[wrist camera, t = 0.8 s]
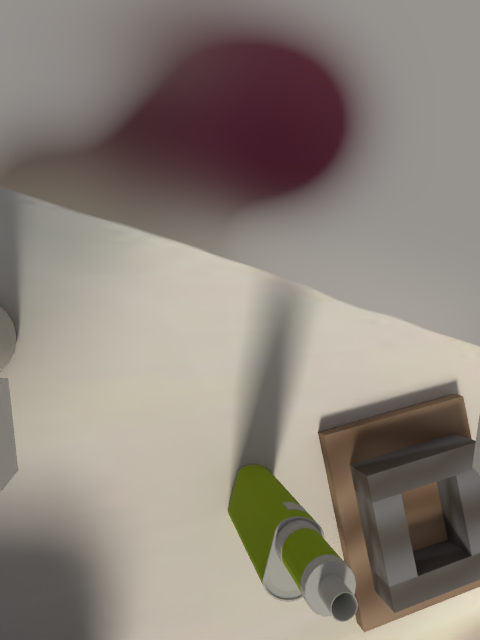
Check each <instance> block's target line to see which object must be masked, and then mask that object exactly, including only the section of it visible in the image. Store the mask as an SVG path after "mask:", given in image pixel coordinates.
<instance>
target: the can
mask: <svg viewBox="0 0 480 640" xmlns="http://www.w3.org/2000/svg"><path fill="white" fill-rule="evenodd" d="M15 345H16V332H15V328H14V323H13V322H12V320H11V318H10V317H9V315H8V314H7V312H6V311H5V310H4V309H3V308H2V307H0V371H1V370H2V369H3V368H4V367H5V366H6V365H7V364H8V363H9V361H10V359H11V357H12V355H13V353H14V351H15Z"/></svg>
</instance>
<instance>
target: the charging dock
mask: <svg viewBox="0 0 480 640" xmlns="http://www.w3.org/2000/svg"><path fill="white" fill-rule="evenodd" d="M318 434H319V439H320V444H321V449H322V454H323V459H324V463H325V468H326V473H327V478H328V483H329V488H330V493H331V498H332V502H333V507H334V512H335V517H336V522H337V527H338V532H339V537H340V542H341V546H342V551H343V556H344V561H345V563H346V564H347V565H348V566H349V567H350V568H351V570H352V572H353V574H354V576H355V581H356V589H355V594H354V596H355V597H356V599H357V603H358V606H357V611H356V613H355V615H356V620H357V623H358V625H359V626H360V627H361V629H362V630H363V631H364V632H366V631H369V630H371V629H374V628H376V627H379V626H381V625H384V624H386V623H389V622H391V621H394V620H396V619H399V618H402V617H404V616H407V615H409V614H412V613H414V612H417V611H419V610H422V609H424V608H427V607H429V606H432V605H434V604H437V603H439V602H442V601H445V600H447V599H450V598H452V597H455V596H457V595H460V594H462V593H465V592H467V591H470V590H472V589H475V588H477V587H480V475H479V474H478V473H477V472H476V471H475V470H474V469H473V468H472V465H473V458H474V451H475V444H476V441H474V440H471V435H470V429H469V424H468V419H467V414H466V409H465V404H464V399H463V396H459V395H455V394H452V395H449V396H445V397H442V398H438V399H435V400H431V401H428V402H424V403H421V404H417V405H413V406H410V407H406V408H403V409H399V410H396V411H392V412H389V413H385V414H382V415H378V416H374V417H371V418H367V419H364V420H360V421H357V422H353V423H350V424H346V425H343V426H339V427H335V428H332V429H328V430H325V431H321V432H318Z"/></svg>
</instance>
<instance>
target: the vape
mask: <svg viewBox="0 0 480 640" xmlns="http://www.w3.org/2000/svg"><path fill="white" fill-rule="evenodd" d="M228 513H229V515H230V518H231V520H232V522H233V524H234V526H235V528H236V530H237V532H238V534H239V536H240V538H241V540H242V542H243V545H244V547H245V549H246V551H247V553H248V555H249V557H250V559H251V561H252V563H253V565H254V567H255V569H256V572H257V574H258V576H259V578H260V580H261V582H262V584H263V586H264V588H265V590H266V592H267V593H268V594H269V595H270V596H272V597H273V598H275V599H278V600H281V601H295V600H299V599H301V598H303V597H304V599H305V601H306V603H307V604H308V606H309V607H310V609H311V610H313V611H314V612H315V613H316V614H319V615H322V616H333V618H334V619H336V620H337V621H340V622H345V621H348V620H350V619H351V618H352V617H353V616H354V615H355V613H356V611H357V606H358V603H357V599H356V597H355V596H354V594H355V589H356V581H355V576H354V574H353V572H352V570H351V568H350V567H349V566H348V565H347V564H346V563H345V562H344V561H343V560H342V559H341V558H340V557H339V556H338V555H337V553H336V552H335V551H334V550H333V549H332V548H331V547H330V545H329V544H328V543H327V542H326V541H325V540H324V533H323V531H322V529H321V527H320V526H319V525H318V524H317V523H316V522H315V520H314V519H313V518H312V517H311V516H310V515H309V514H308V513H307V512H306V511H305V509H304V508H303V507H302V506H301V505H300V504H299V503H298V502H297V501H296V500H295V498H294V497H293V496H292V495H291V494H290V493H289V492H288V491H287V490H286V489H285V487H284V486H283V485H282V484H281V483H280V482H279V481H278V480H277V479H276V478H275V476H274V475H273V474H272V473H271V472H270V471H269V470H268V469H267V468H265V467H263V466H261V465H257V464H250V465H246V466H244V467H242V468H241V469H240V470H239V471H238V473H237V476H236V480H235V484H234V488H233V491H232V495H231V499H230V503H229V507H228Z"/></svg>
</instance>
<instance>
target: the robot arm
mask: <svg viewBox="0 0 480 640" xmlns="http://www.w3.org/2000/svg"><path fill="white" fill-rule="evenodd" d="M472 468H473V469H474V470H475V471H476V472H477V473H478V474H479V475H480V416H479V423H478V430H477V437H476V444H475V451H474V458H473V465H472ZM17 471H18V465H17V456H16V447H15V438H14V428H13V419H12V410H11V401H10V392H9V382H8V378H0V492H1V491H2V489H3V488H4V487H5V486H6V485H7V483H8V482H9V481H10V480H11V478H12V477H13V476H14V475H15V473H16V472H17Z"/></svg>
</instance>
